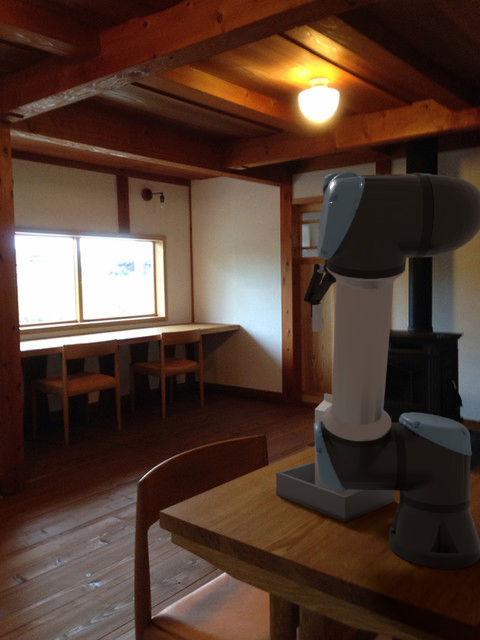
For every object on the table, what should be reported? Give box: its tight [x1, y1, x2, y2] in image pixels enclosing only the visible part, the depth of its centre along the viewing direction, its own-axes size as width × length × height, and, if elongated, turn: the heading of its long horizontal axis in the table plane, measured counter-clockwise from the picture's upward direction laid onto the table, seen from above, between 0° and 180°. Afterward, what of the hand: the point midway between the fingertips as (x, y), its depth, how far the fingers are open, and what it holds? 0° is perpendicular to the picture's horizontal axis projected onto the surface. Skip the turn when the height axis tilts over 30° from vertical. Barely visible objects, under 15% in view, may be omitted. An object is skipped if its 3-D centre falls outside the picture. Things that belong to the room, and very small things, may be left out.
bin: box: [275, 460, 396, 523], centre depth 121 cm, size 20×17×5 cm
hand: (339, 333), depth 129 cm, fingers open, 13 cm apart
